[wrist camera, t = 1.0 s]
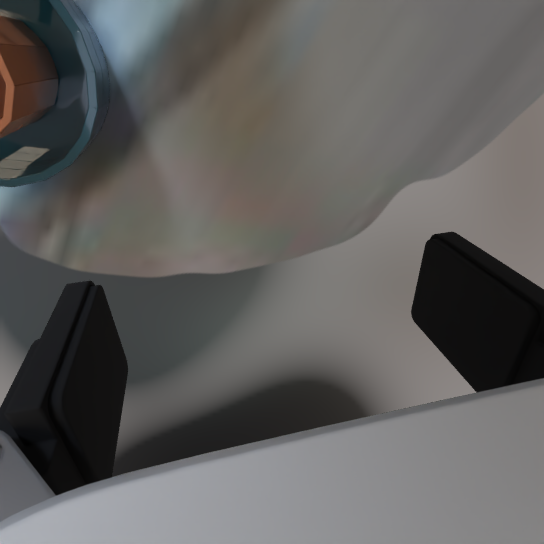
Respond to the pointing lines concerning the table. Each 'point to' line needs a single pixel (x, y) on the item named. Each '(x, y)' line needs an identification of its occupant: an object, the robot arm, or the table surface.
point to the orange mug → (24, 76)
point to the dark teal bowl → (58, 94)
